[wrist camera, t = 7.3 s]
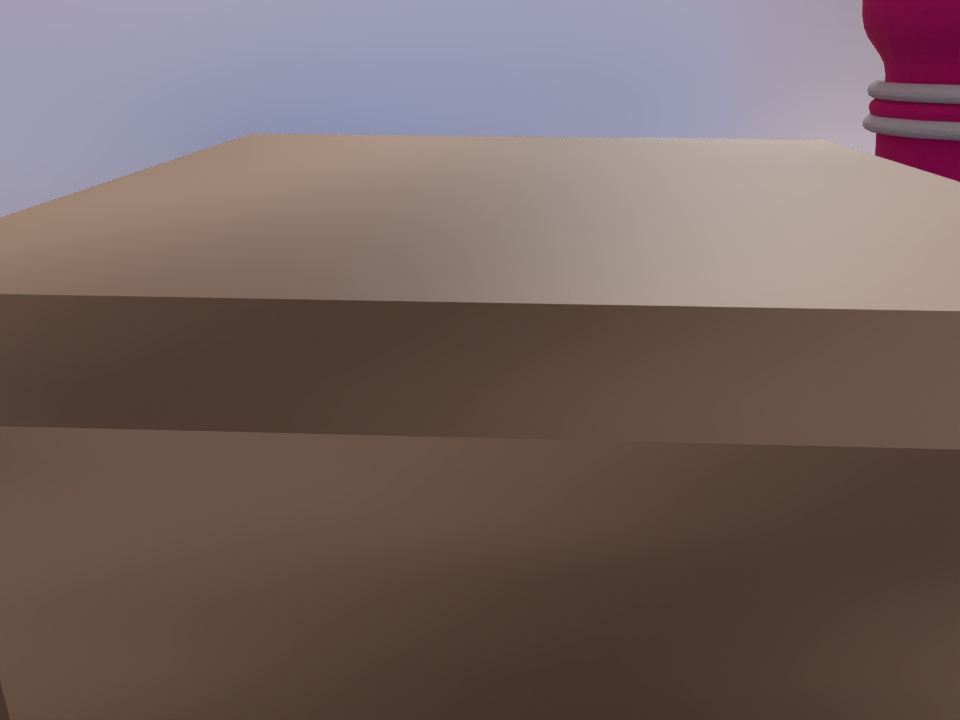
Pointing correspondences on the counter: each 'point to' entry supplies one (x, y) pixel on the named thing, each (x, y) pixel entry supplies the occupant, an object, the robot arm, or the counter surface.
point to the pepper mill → (916, 83)
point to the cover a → (484, 434)
